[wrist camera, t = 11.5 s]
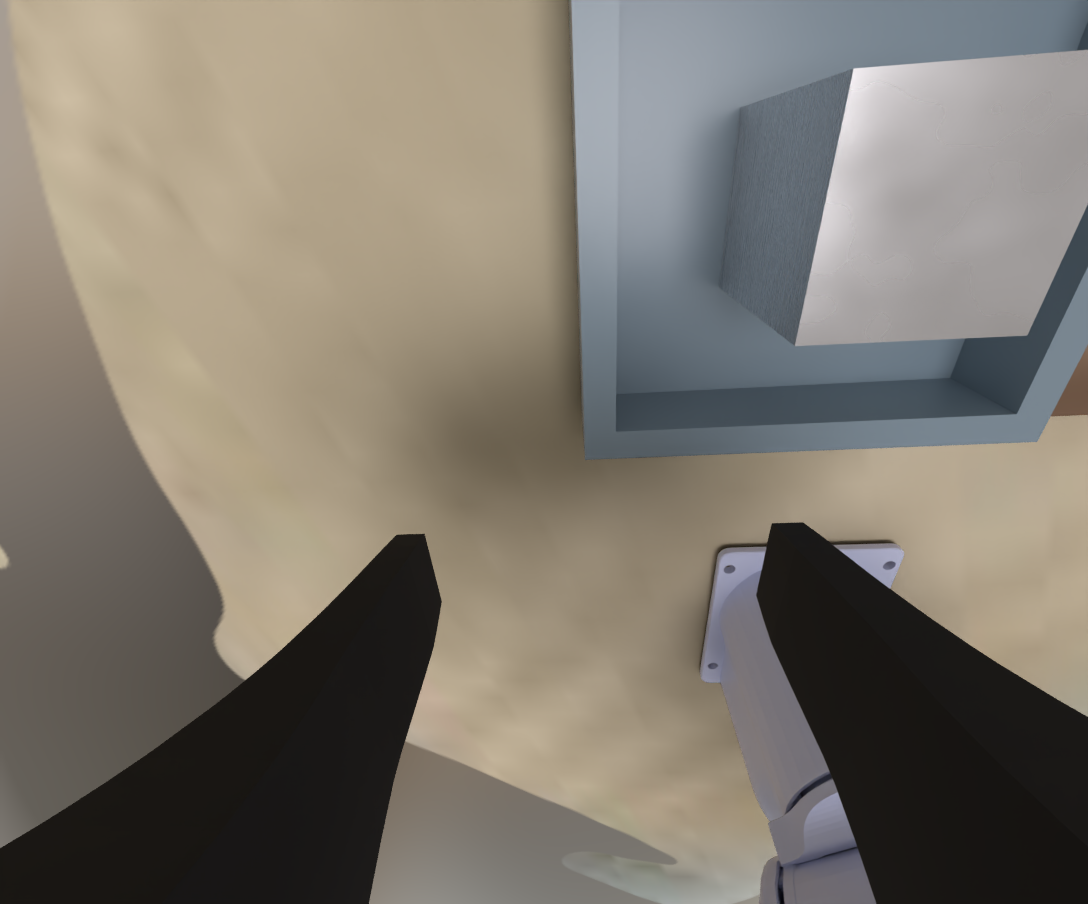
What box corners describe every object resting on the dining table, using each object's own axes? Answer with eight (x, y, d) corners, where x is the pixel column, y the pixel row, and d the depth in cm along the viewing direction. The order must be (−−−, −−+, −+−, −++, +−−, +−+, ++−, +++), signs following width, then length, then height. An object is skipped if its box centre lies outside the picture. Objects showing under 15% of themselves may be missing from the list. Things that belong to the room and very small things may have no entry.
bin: (957, 395, 18) (1036, 441, 15) (581, 413, 19) (585, 459, 16) (1187, -177, 11) (1428, -310, 8) (564, -103, 12) (565, -197, 9)
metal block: (922, 93, 13) (1161, 44, 8) (871, 279, 15) (1027, 335, 10) (740, 107, 13) (853, 68, 8) (718, 287, 16) (795, 346, 10)
